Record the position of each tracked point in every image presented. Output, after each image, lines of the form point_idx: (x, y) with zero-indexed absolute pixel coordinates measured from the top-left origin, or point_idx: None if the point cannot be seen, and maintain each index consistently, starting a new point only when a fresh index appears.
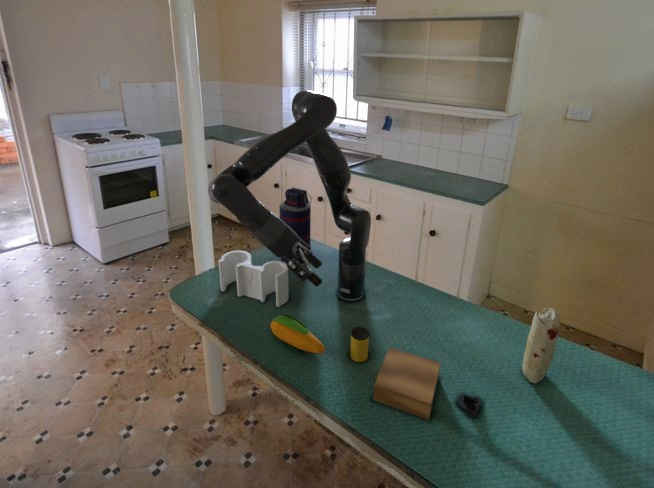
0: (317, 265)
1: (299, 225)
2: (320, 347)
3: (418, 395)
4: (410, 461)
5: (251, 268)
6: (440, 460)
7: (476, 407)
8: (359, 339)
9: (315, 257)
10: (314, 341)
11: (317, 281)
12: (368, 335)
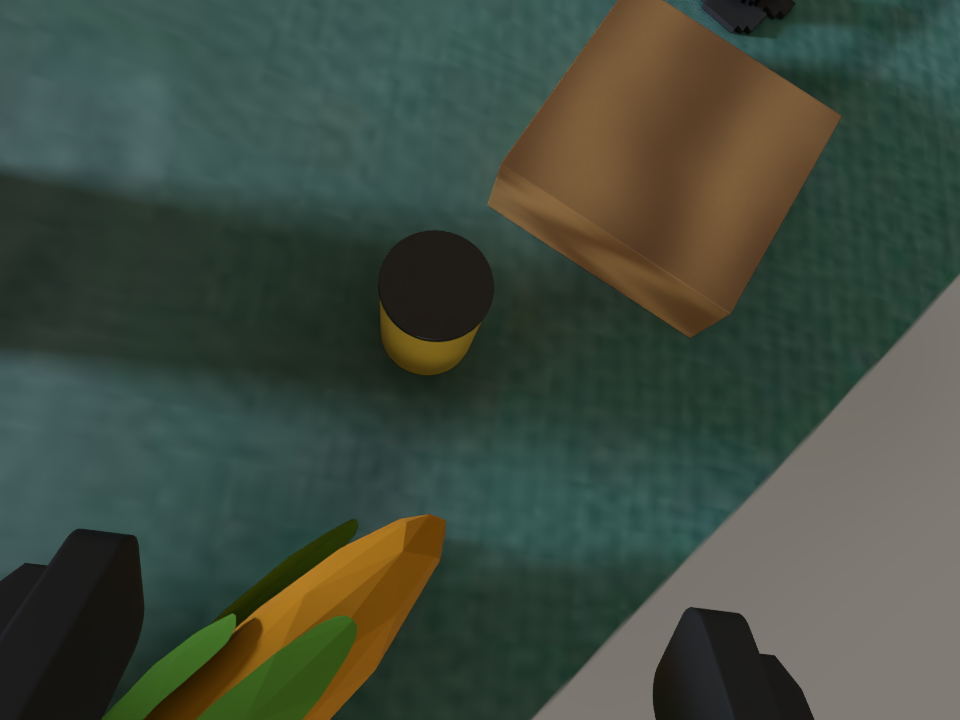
0: (123, 620)
1: None
2: (430, 542)
3: (799, 146)
4: (939, 285)
5: None
6: (936, 189)
7: None
8: (489, 304)
9: (10, 707)
10: (394, 578)
11: (804, 717)
12: (467, 243)
